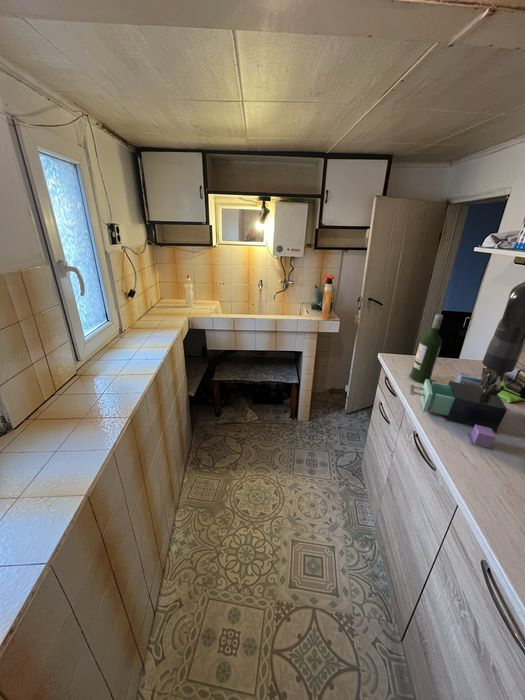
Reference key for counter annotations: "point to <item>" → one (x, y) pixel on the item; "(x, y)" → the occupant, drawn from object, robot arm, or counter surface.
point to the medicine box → (468, 379)
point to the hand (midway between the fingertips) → (482, 402)
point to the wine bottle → (427, 353)
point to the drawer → (435, 397)
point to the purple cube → (483, 436)
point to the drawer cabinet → (475, 407)
